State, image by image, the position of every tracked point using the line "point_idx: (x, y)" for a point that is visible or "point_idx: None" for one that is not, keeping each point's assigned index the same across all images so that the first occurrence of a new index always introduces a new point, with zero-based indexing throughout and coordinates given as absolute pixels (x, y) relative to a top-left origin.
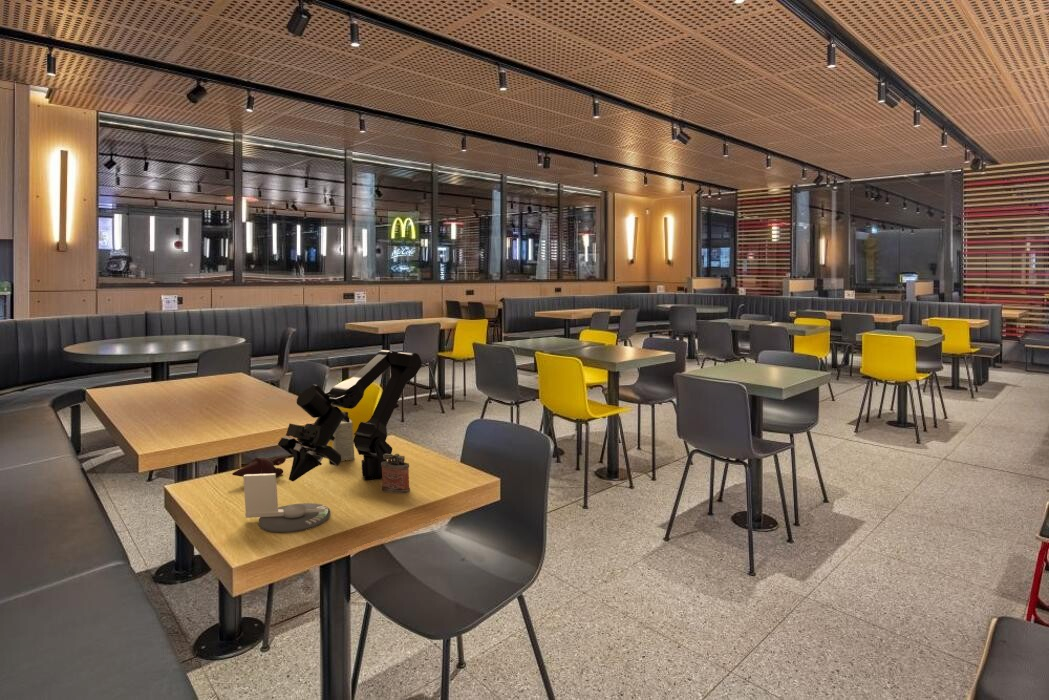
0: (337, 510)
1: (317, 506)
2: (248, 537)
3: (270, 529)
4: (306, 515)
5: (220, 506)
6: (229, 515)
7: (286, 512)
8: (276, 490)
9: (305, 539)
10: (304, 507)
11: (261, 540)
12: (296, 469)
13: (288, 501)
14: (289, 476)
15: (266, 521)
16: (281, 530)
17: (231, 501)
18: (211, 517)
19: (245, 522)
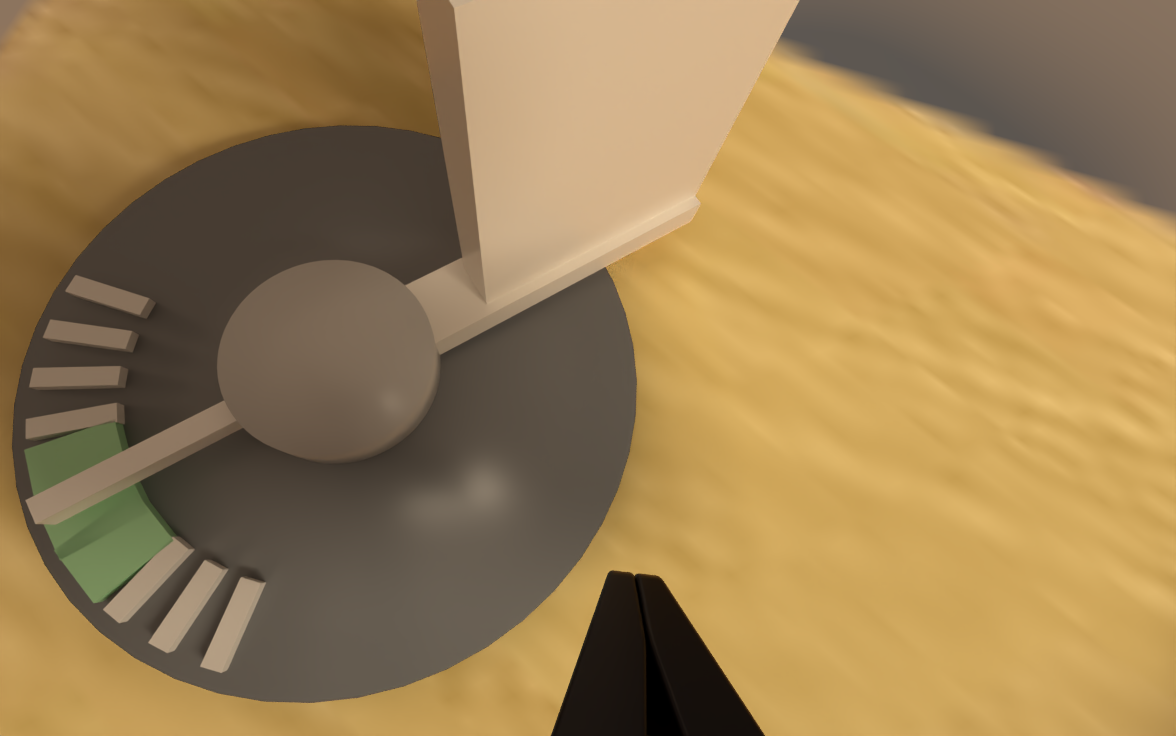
0: (82, 721)
1: (293, 639)
2: None
3: (351, 130)
4: None
5: (1065, 337)
6: (860, 247)
7: (339, 260)
8: (468, 190)
9: (6, 135)
10: (246, 410)
11: (318, 41)
12: (588, 716)
13: (727, 663)
14: (673, 601)
15: None
16: (259, 144)
17: (1103, 439)
18: (924, 185)
19: None
